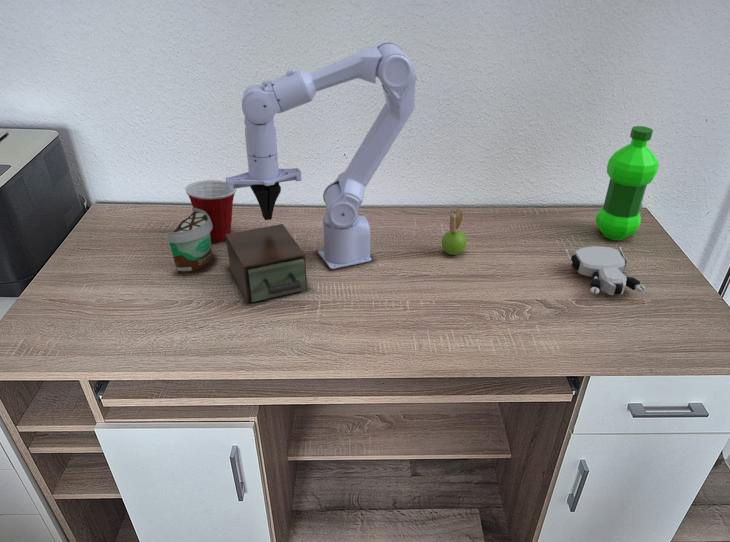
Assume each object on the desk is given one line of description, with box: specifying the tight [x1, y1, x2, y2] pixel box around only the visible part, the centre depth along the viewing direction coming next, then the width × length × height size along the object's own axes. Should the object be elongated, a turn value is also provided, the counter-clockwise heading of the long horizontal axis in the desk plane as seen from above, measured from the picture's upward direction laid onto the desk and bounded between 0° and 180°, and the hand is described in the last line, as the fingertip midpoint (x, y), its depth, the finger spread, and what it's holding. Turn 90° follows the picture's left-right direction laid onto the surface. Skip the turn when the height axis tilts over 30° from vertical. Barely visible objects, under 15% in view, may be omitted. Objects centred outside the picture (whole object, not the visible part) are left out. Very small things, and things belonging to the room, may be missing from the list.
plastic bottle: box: [595, 125, 660, 241], centre depth 138 cm, size 10×10×25 cm
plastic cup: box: [184, 179, 238, 244], centre depth 137 cm, size 11×11×12 cm
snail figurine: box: [440, 208, 468, 256], centre depth 133 cm, size 5×6×12 cm
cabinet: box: [225, 223, 308, 304], centre depth 124 cm, size 14×12×8 cm
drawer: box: [247, 258, 307, 303], centre depth 121 cm, size 18×11×6 cm, turn 25°
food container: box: [166, 207, 213, 275], centre depth 127 cm, size 12×6×10 cm, turn 168°
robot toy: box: [565, 245, 646, 296], centre depth 127 cm, size 12×4×15 cm
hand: (267, 217), depth 125 cm, fingers closed
